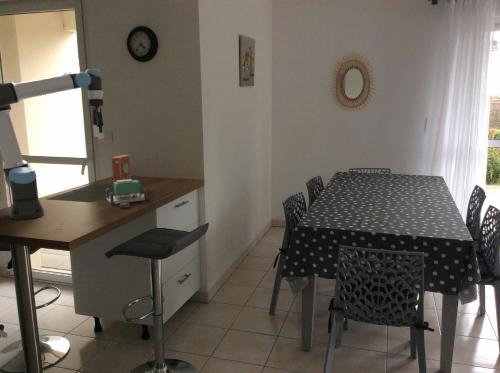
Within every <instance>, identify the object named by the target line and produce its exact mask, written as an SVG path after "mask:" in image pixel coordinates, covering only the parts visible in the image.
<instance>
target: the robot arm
mask: <svg viewBox="0 0 500 373" xmlns="http://www.w3.org/2000/svg"><path fill="white" fill-rule="evenodd" d="M102 79H103V78H102V73H101V70H100V69H99V68H98V69H97V68H93V69H91V68H89V69H88V68H87V69H86V70H85V71H78V72H65V73H63V74H62V75H56V76H52V77H50V76H49V77H45V78H41V79H33V80H29V81H28V80H27V81H24V82H17V83H14V82H12V81H11V82H3V83H2V82H1V83H0V153H1V157H2V160H3V162H4V165H2V170H3V171H2V172H3V174H4V180H5V182H6V185H7V187H9V188H10V192H11V201H12V203H11V207H10V211H9V218H10V219H11V218H12V219H11V220H15V219H17V220H18V221H21V220H22V221H23V220H31V219H35V218H40V217H42V216H44V215H45V211H44V210H45V209H44V208H43V205H42V203H41V202H40V200H39V191H38V182H37V174H36V170H35V169H34V168H32V167H29V163H28V161H26V160H25V159H23V155H22V151H21V148H20V144H19V140H18V138H17V135H16V131H15V129H14V125H13V122H12V119H11V118H12V117H11V114H10V112H11V110H12V107H11V106H12V105H13V104H18V103H19V102H20V101H22V100H26V99H31V98H35V97H40V96H46V95H50V94H56V93H60V92H65V91H70V90H75V89H81V88H82V89H83V88H84V89H85V88H87V98H88V106H89V107H92V108H91V110H92V112H91V113H92V115H91V116H92V120H91V122H92V125H93V127H92V128H93V136H94V137H97V138H98V140H101V139H102V140H104V139H105V138H104V125H105V124H104V120H103V114H102V108H101V107H103V106H104V99H103V97H104V96H103V94H104V92H103V86H102V85H103V82H102ZM17 220H16V221H17Z"/></svg>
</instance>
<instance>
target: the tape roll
mask: <svg viewBox="0 0 500 373" xmlns="http://www.w3.org/2000/svg"><path fill="white" fill-rule="evenodd" d="M130 204H131V202H125V203H119V208H120V209H123V210H125V209H128V208H130V207H131V205H130Z"/></svg>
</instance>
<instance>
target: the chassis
mask: <svg viewBox="0 0 500 373" xmlns="http://www.w3.org/2000/svg"><path fill="white" fill-rule="evenodd" d="M105 197H106V201H107V202H108V203H109V204H110V205H116V204H121V203H131V202H140V201H148V200H149V199H148V198H149V197H148V189H147V188H143V186H142V185H141V184H140V192H139V193H130V194H122V195H116V194H115V195H114V192H110V188H105Z"/></svg>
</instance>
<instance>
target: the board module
mask: <svg viewBox="0 0 500 373" xmlns="http://www.w3.org/2000/svg"><path fill="white" fill-rule="evenodd" d="M112 183H113V194H114V195H115V196H116V195H126V194H132V193H139V192H140V185H141V184H140V181H139V180H138V179H132V178H131V179H127V180H117V181H116V182H112Z"/></svg>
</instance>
